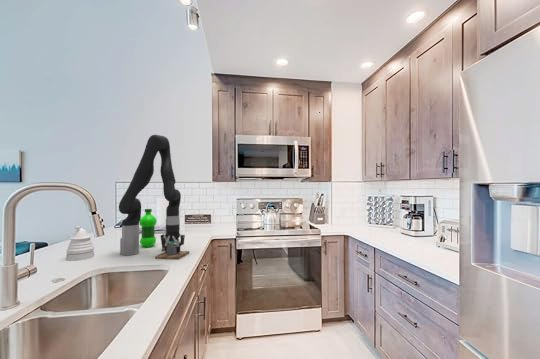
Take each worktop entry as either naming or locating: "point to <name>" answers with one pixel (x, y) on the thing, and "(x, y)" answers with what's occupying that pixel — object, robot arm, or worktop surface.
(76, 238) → the honey pot
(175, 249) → the cap
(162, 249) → the food container
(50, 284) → the worktop surface
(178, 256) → the stub board
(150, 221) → the plastic bottle
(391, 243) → the worktop surface
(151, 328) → the worktop surface
